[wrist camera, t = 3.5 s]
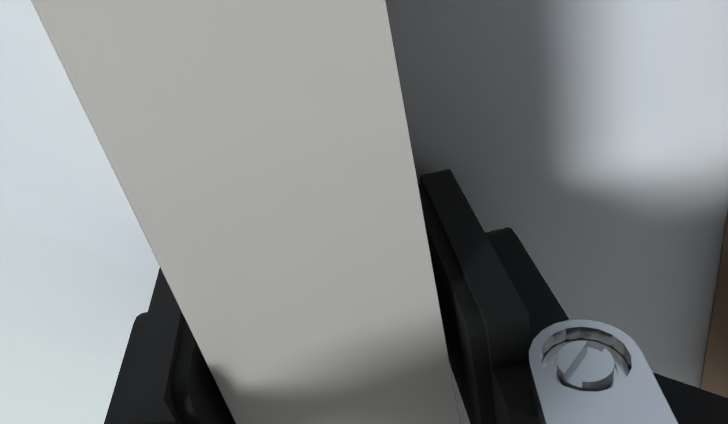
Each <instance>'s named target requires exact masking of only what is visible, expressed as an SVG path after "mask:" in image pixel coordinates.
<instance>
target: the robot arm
mask: <svg viewBox="0 0 728 424" xmlns="http://www.w3.org/2000/svg"><path fill="white" fill-rule="evenodd" d="M418 188H419V194H420V200H421V205H422V211H423V217H424V222H425V228H426V234H427V239H428V245H429V251H430V256H431V262H432V268H433V273H434V279H435V284H436V290H437V296H438V301H439V307H440V313H441V318H442V324H443V330H444V335H445V341H446V347H447V352H448V358H449V362H450V365H451V368H452V371H453V374H454V377H455V379H456V382H457V385H458V388H459V391H460V394H461V397H462V400H463V403H464V406H465V409H466V412H467V415H468V418H469V420H470V423H471V424H728V398H726V397H723V396H720V395H717V394H714V393H711V392H708V391H705V390H702V389H700V388H697V387H694V386H691V385H688V384H685V383H682V382H679V381H676V380H673V379H670V378H667V377H664V376H661V375H658V374H655V373H652V371H651V369H650V367H649V365H648V363H647V361H646V359H645V357H644V355H643V353H642V351H641V349H640V348H639V347H638V345H637V344H636V343H635V341H634V340H633V339H632V338H631V337H630V336H628V335H627V334H626V333H624V332H623V331H621V330H620V329H618V328H616V327H613V326H611V325H609V324H606V323H604V322H598V321H593V320H588V319H577V320H569V319H568V317H567V315H566V314H565V312H564V311H563V309H562V307H561V306H560V304H559V303H558V301H557V299H556V298H555V296H554V295H553V293H552V291H551V290H550V288H549V287H548V285H547V283H546V282H545V280H544V279H543V277H542V276H541V274H540V272H539V271H538V269H537V268H536V266H535V264H534V263H533V261H532V260H531V258H530V256H529V255H528V253H527V252H526V250H525V248H524V247H523V245H522V244H521V242H520V240H519V239H518V237H517V236H516V234H515V233H514V231H513V230H512V229H511V228H504V229H500V230H496V231H491V232H487V233H485V232H484V230H483V229H482V227H481V225H480V223H479V221H478V219H477V218H476V216H475V214H474V212H473V210H472V209H471V207H470V205H469V203H468V201H467V199H466V198H465V196H464V194H463V192H462V190H461V189H460V187H459V185H458V183H457V181H456V179H455V178H454V176H453V174H452V172H451V171H450V169H448V170H443V171H439V172H435V173H431V174H426V175H422V176H420V184H418ZM104 424H236V423H235V420H234V418H233V416H232V414H231V412H230V410H229V408H228V406H227V404H226V402H225V400H224V398H223V396H222V394H221V392H220V389H219V387H218V385H217V383H216V381H215V379H214V377H213V375H212V373H211V371H210V369H209V367H208V365H207V363H206V361H205V359H204V356H203V354H202V352H201V350H200V348H199V346H198V344H197V342H196V340H195V338H194V336H193V334H192V332H191V330H190V328H189V325H188V323H187V321H186V319H185V317H184V315H183V313H182V311H181V309H180V307H179V305H178V303H177V301H176V299H175V297H174V295H173V292H172V290H171V288H170V286H169V284H168V282H167V280H166V278H165V276H164V274H163V272H162V270H161V268H160V269H159V273H158V277H157V280H156V284H155V288H154V291H153V295H152V299H151V302H150V306H149V310H148V312H146V313H142V314H140V315H138V316H137V317H136V320H135V322H134V324H133V328H132V331H131V334H130V338H129V341H128V345H127V348H126V351H125V355H124V358H123V361H122V365H121V368H120V372H119V375H118V378H117V382H116V385H115V388H114V392H113V395H112V399H111V402H110V405H109V409H108V412H107V415H106V419H105V422H104Z"/></svg>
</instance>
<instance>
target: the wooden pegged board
mask: <svg viewBox="0 0 728 424" xmlns="http://www.w3.org/2000/svg"><path fill="white" fill-rule="evenodd" d="M700 389H702V390H705V391H708V392H711V393H714V394H717V395H720V396H723V397H726V398H728V217H727V223H726V229H725V236H724V242H723V248H722V255H721V261H720V267H719V274H718V280H717V286H716V293H715V299H714V305H713V312H712V318H711V324H710V331H709V337H708V343H707V350H706V356H705V362H704V369H703V375H702V381H701V388H700Z"/></svg>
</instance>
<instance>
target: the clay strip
mask: <svg viewBox="0 0 728 424" xmlns="http://www.w3.org/2000/svg"><path fill="white" fill-rule="evenodd" d="M31 1H32V3H33V5H34V8H35V10H36V12H37V14H38V16H39V18H40V20H41V22H42V24H43V26H44V28H45V30H46V32H47V34H48V36H49V39H50V41H51V43H52V45H53V47H54V49H55V51H56V53H57V55H58V57H59V59H60V61H61V63H62V65H63V67H64V69H65V72H66V74H67V76H68V78H69V80H70V82H71V84H72V86H73V88H74V90H75V92H76V94H77V96H78V98H79V100H80V103H81V105H82V107H83V109H84V111H85V113H86V115H87V117H88V119H89V121H90V123H91V125H92V127H93V129H94V131H95V133H96V136H97V138H98V140H99V142H100V144H101V146H102V148H103V150H104V152H105V154H106V156H107V158H108V160H109V162H110V164H111V167H112V169H113V171H114V173H115V175H116V177H117V179H118V181H119V183H120V185H121V187H122V189H123V191H124V193H125V195H126V197H127V200H128V202H129V204H130V206H131V208H132V210H133V212H134V214H135V216H136V218H137V220H138V222H139V224H140V226H141V228H142V231H143V233H144V235H145V237H146V239H147V241H148V243H149V245H150V247H151V249H152V251H153V253H154V255H155V257H156V259H157V261H158V264H159V266H160V268H161V270H162V272H163V274H164V276H165V278H166V280H167V282H168V284H169V286H170V288H171V290H172V292H173V295H174V297H175V299H176V301H177V303H178V305H179V307H180V309H181V311H182V313H183V315H184V317H185V319H186V321H187V323H188V325H189V328H190V330H191V332H192V334H193V336H194V338H195V340H196V342H197V344H198V346H199V348H200V350H201V352H202V354H203V356H204V359H205V361H206V363H207V365H208V367H209V369H210V371H211V373H212V375H213V377H214V379H215V381H216V383H217V385H218V387H219V389H220V392H221V394H222V396H223V398H224V400H225V402H226V404H227V406H228V408H229V410H230V412H231V414H232V416H233V418H234V420H235V423H236V424H460V420H459V415H458V409H457V403H456V398H455V392H454V386H453V381H452V375H451V369H450V364H449V358H448V352H447V347H446V341H445V335H444V330H443V324H442V318H441V313H440V307H439V301H438V296H437V290H436V284H435V279H434V273H433V268H432V262H431V256H430V251H429V245H428V239H427V234H426V228H425V222H424V217H423V211H422V205H421V200H420V194H419V188H418V183H417V177H416V171H415V166H414V160H413V154H412V149H411V143H410V137H409V132H408V126H407V120H406V115H405V109H404V103H403V98H402V92H401V87H400V81H399V75H398V70H397V64H396V58H395V53H394V47H393V41H392V36H391V30H390V24H389V19H388V13H387V7H386V2H385V0H31Z"/></svg>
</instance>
